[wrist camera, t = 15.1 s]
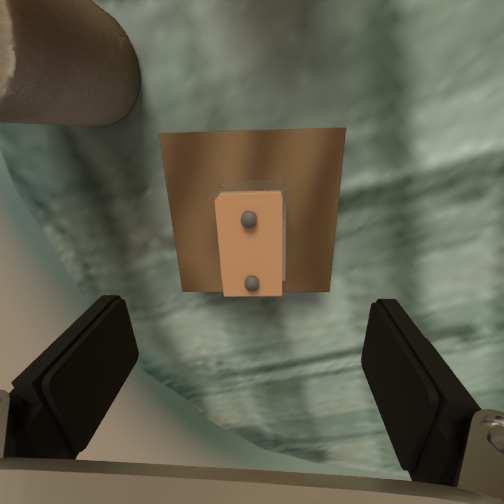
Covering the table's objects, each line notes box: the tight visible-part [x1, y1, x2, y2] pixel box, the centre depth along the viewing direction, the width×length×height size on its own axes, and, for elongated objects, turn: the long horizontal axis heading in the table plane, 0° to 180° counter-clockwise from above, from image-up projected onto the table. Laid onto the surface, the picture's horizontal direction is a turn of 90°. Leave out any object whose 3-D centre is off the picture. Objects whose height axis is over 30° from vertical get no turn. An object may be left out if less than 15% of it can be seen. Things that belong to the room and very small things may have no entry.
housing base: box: [214, 179, 287, 281], centre depth 22 cm, size 5×7×5 cm
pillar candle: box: [0, 0, 140, 126], centre depth 18 cm, size 10×10×15 cm
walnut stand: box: [159, 128, 346, 292], centre depth 27 cm, size 15×15×5 cm
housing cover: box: [215, 192, 282, 297], centre depth 18 cm, size 4×7×2 cm, turn 2°
